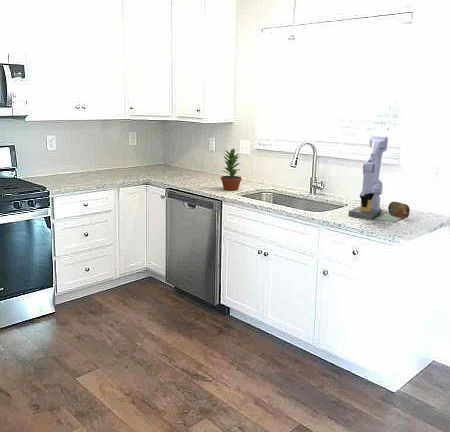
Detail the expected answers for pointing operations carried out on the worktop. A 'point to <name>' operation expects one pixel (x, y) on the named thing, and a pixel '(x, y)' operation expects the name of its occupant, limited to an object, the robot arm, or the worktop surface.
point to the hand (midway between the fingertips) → (365, 206)
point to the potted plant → (231, 173)
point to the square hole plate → (365, 213)
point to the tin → (399, 210)
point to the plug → (367, 206)
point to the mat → (388, 218)
